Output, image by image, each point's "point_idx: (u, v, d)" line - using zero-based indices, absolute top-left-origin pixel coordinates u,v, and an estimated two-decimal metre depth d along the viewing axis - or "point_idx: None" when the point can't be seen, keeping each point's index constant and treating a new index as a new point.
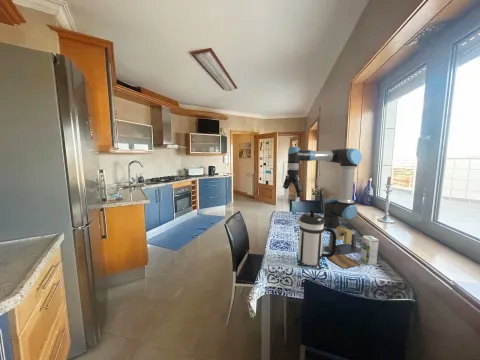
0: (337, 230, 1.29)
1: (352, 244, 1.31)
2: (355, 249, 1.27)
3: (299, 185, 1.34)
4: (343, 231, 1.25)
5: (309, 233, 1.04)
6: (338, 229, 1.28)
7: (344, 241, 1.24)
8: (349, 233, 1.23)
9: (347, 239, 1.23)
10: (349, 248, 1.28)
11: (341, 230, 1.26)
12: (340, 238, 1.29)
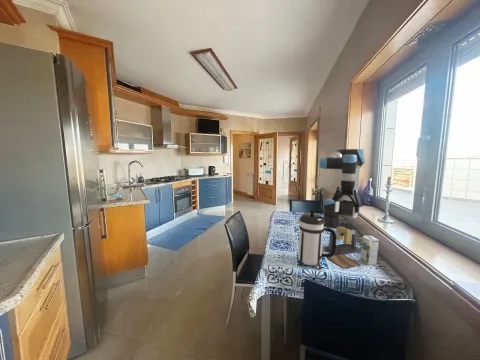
0: (337, 230, 1.29)
1: (352, 244, 1.31)
2: (355, 249, 1.27)
3: (358, 199, 1.16)
4: (343, 231, 1.25)
5: (309, 233, 1.04)
6: (338, 229, 1.28)
7: (344, 241, 1.24)
8: (349, 233, 1.23)
9: (347, 239, 1.23)
10: (349, 248, 1.28)
11: (341, 230, 1.26)
12: (340, 238, 1.29)
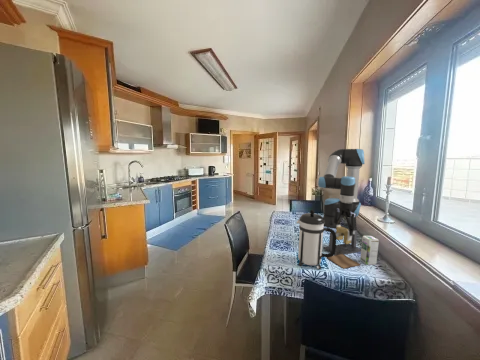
0: (337, 230, 1.29)
1: (352, 244, 1.31)
2: (355, 249, 1.27)
3: (354, 223, 1.19)
4: (343, 231, 1.25)
5: (309, 233, 1.04)
6: (338, 229, 1.28)
7: (344, 241, 1.24)
8: None
9: None
10: (349, 248, 1.28)
11: (341, 230, 1.26)
12: (340, 238, 1.29)
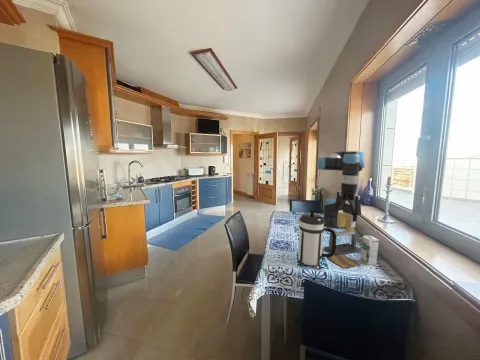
0: (339, 216, 1.13)
1: (352, 244, 1.31)
2: (355, 249, 1.27)
3: (358, 207, 1.04)
4: (346, 216, 1.09)
5: (309, 233, 1.04)
6: (340, 215, 1.13)
7: (347, 228, 1.08)
8: None
9: None
10: (349, 248, 1.28)
11: (343, 216, 1.10)
12: (342, 225, 1.14)
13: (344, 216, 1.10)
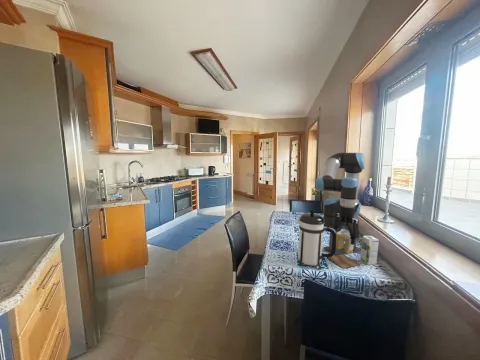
0: (337, 238, 1.15)
1: None
2: (355, 249, 1.27)
3: (356, 230, 1.05)
4: (344, 239, 1.11)
5: (309, 233, 1.04)
6: (338, 236, 1.14)
7: (345, 250, 1.10)
8: None
9: None
10: None
11: (341, 238, 1.12)
12: (340, 247, 1.15)
13: (342, 238, 1.11)
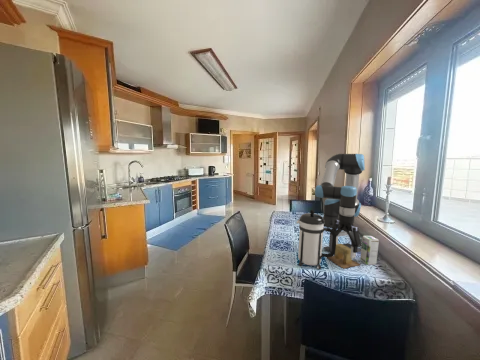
0: (336, 248, 1.16)
1: None
2: None
3: (357, 238, 1.05)
4: (343, 250, 1.11)
5: (309, 233, 1.04)
6: (337, 247, 1.15)
7: (344, 261, 1.11)
8: (350, 252, 1.10)
9: (347, 259, 1.10)
10: None
11: (341, 248, 1.13)
12: (339, 257, 1.16)
13: (341, 249, 1.12)
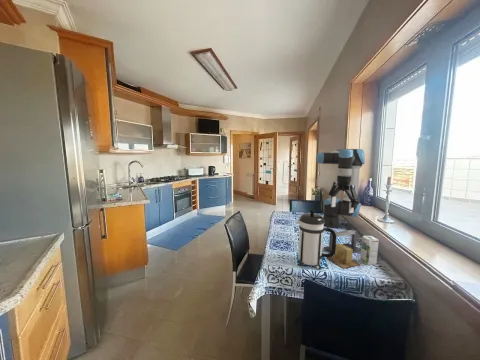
0: (336, 248, 1.16)
1: (352, 244, 1.31)
2: (355, 249, 1.27)
3: (354, 194, 1.16)
4: (343, 250, 1.11)
5: (309, 233, 1.04)
6: (337, 247, 1.15)
7: (344, 261, 1.11)
8: (350, 252, 1.10)
9: (347, 259, 1.10)
10: None
11: (341, 248, 1.13)
12: (339, 257, 1.16)
13: (341, 249, 1.12)
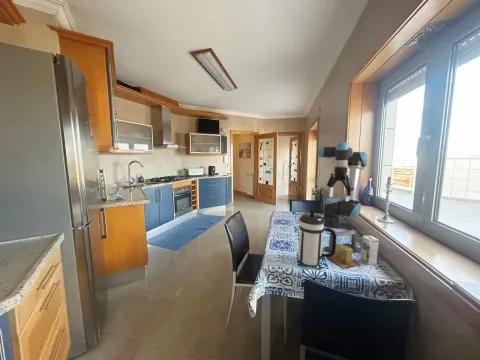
0: (336, 248, 1.16)
1: (352, 244, 1.31)
2: (355, 249, 1.27)
3: (350, 183, 1.26)
4: (343, 250, 1.11)
5: (309, 233, 1.04)
6: (337, 247, 1.15)
7: (344, 261, 1.11)
8: (350, 252, 1.10)
9: (347, 259, 1.10)
10: None
11: (341, 248, 1.13)
12: (339, 257, 1.16)
13: (341, 249, 1.12)
